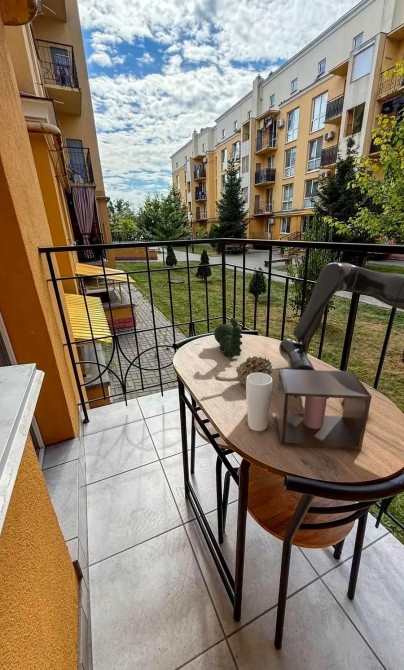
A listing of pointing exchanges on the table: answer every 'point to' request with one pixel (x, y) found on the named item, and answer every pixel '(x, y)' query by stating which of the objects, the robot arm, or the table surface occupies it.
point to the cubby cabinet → (335, 428)
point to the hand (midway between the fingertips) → (311, 395)
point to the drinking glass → (258, 400)
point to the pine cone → (250, 369)
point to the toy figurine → (229, 338)
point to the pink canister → (314, 412)
